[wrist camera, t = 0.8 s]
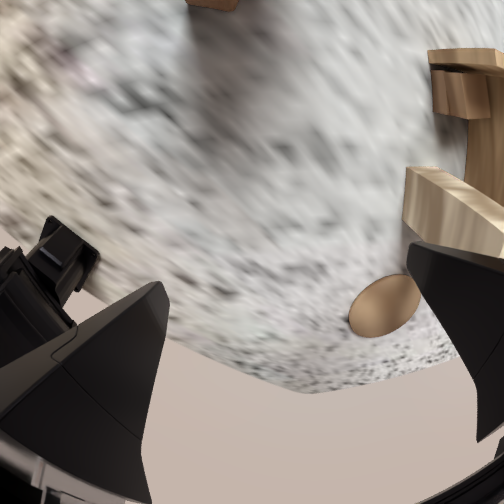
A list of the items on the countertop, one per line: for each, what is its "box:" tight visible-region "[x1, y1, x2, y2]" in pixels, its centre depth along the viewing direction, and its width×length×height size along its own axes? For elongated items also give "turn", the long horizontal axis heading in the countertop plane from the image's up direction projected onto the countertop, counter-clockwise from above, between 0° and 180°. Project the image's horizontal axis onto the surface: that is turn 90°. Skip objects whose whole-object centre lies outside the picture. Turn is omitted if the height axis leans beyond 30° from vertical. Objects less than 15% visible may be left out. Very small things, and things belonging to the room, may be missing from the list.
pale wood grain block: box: [402, 167, 504, 259], centre depth 16 cm, size 4×5×12 cm
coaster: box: [349, 274, 421, 338], centre depth 28 cm, size 9×9×1 cm
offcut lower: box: [431, 70, 457, 117], centre depth 16 cm, size 4×4×2 cm
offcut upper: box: [443, 72, 491, 119], centre depth 14 cm, size 3×4×2 cm
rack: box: [428, 48, 504, 207], centre depth 15 cm, size 6×17×8 cm, turn 7°
